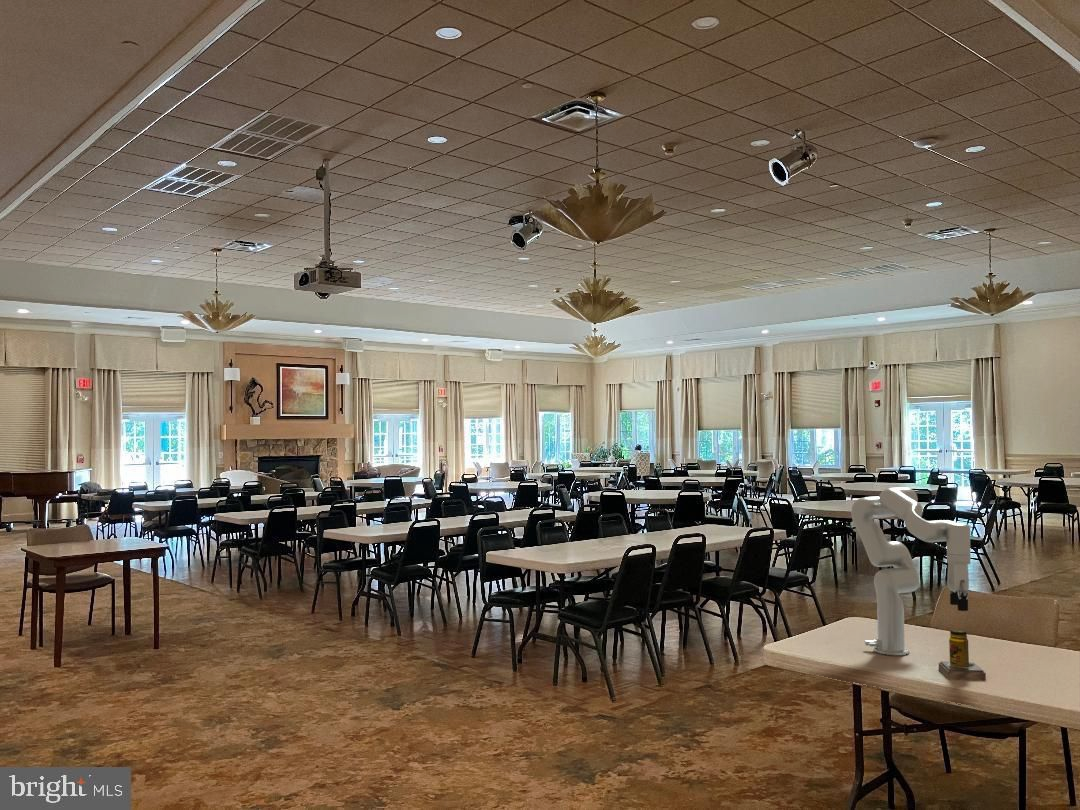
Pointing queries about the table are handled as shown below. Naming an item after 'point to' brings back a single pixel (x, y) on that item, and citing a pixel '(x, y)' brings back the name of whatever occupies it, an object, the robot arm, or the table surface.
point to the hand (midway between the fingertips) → (958, 607)
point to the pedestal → (962, 672)
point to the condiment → (959, 649)
